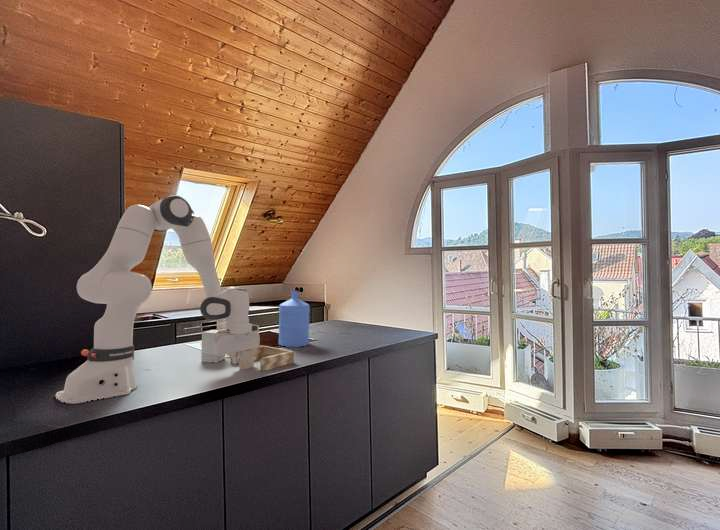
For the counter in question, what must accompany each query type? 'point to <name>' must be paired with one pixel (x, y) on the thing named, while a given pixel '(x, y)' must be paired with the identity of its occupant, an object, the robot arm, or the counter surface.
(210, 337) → the supplement box
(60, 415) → the counter surface
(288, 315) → the water jug
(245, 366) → the architectural model
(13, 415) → the counter surface
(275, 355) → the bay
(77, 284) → the robot arm
